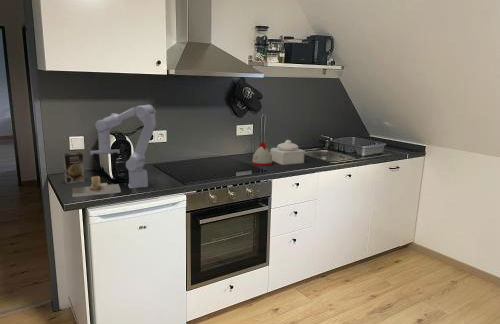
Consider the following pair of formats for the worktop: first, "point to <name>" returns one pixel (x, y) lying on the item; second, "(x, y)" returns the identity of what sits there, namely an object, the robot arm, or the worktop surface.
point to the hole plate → (88, 190)
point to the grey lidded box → (287, 153)
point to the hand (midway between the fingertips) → (106, 167)
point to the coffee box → (73, 167)
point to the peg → (96, 183)
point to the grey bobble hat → (262, 156)
